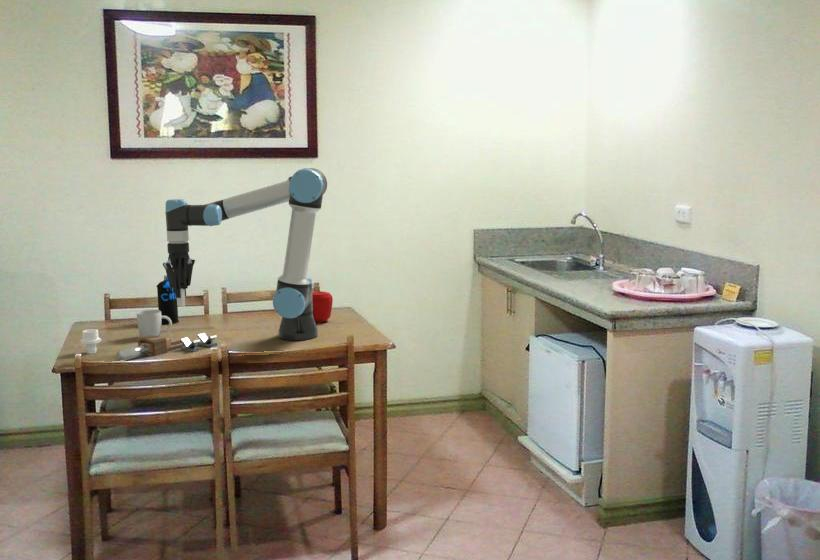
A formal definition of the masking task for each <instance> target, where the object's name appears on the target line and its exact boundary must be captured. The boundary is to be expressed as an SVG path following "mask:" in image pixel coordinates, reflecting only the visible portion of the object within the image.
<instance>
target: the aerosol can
mask: <svg viewBox="0 0 820 560" xmlns="http://www.w3.org/2000/svg"><path fill="white" fill-rule="evenodd" d="M156 288H157V289H156V290H157V292H156V293H157V306H158V307H157V308H158V309H157V310H160V311H161V316H167V317H169V318H170V319H171V321H172V325H173V324H174V325H175V324H178V323H179V322H180V320H179V309H178V307H179V306H177V298H176V297H175V289H174V288H171V287H170V285H169V281H168V277H167V274H165V275H163V280H162V281H160V282H159V283H158V284H157V285H156ZM162 325H167V326H168V325H169V321H168V320H167V319H164V318H162Z"/></svg>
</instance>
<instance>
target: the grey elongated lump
mask: <svg viewBox="0 0 820 560" xmlns="http://www.w3.org/2000/svg"><path fill="white" fill-rule="evenodd" d="M147 353H149V349H148V347H147V345H145V344H143V345H139V346H138V345H136V346H132V347H128V348H124V349H120V350H117V352H116V357H117V360H118V361H119V360H127V361H131V360H134V359H138V358H142V357H147Z"/></svg>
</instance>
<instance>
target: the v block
mask: <svg viewBox="0 0 820 560" xmlns="http://www.w3.org/2000/svg"><path fill="white" fill-rule="evenodd" d="M196 337H197V338H198V339H195V340H192V341H191V340H190V339H189V338H188V337H187V336H186V337H184V338H180V339H179V340H180V341H181V342H182V343H181V344H183V345H184V346H182V347H180V348H179V349H180V351H185V352H189V353H190V352H191V353H196V352H195V351H197V352H200V351H202V347H205V346H207V347H206V348H215V347H218V342H214V341H215V339H217V338H218V336H217V335H216V334H215V335H211V336H207V334H206V333H205V332H203V333H199V334H197V335H196ZM200 345H202V346H201V347H200ZM214 346H215V347H214ZM199 350H200V351H199Z"/></svg>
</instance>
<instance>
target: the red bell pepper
mask: <svg viewBox="0 0 820 560" xmlns="http://www.w3.org/2000/svg"><path fill="white" fill-rule="evenodd" d="M312 299H313V318H314V321H315V323H318V324H319V323H325V322H327V321H328V320H329V319H330V318H331V315H332V309H333V301H334V300H333V295H332V294H331V293H330V292H328V291H321V290H320V289H319V291H312Z"/></svg>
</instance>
